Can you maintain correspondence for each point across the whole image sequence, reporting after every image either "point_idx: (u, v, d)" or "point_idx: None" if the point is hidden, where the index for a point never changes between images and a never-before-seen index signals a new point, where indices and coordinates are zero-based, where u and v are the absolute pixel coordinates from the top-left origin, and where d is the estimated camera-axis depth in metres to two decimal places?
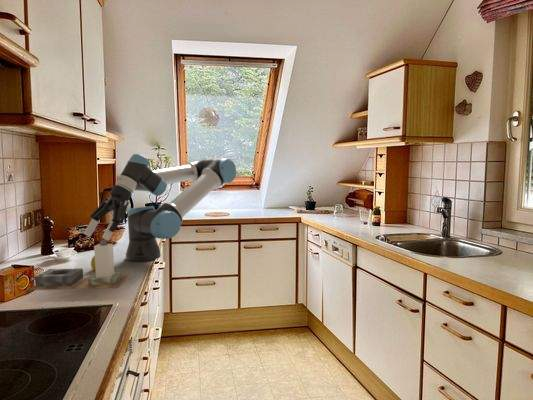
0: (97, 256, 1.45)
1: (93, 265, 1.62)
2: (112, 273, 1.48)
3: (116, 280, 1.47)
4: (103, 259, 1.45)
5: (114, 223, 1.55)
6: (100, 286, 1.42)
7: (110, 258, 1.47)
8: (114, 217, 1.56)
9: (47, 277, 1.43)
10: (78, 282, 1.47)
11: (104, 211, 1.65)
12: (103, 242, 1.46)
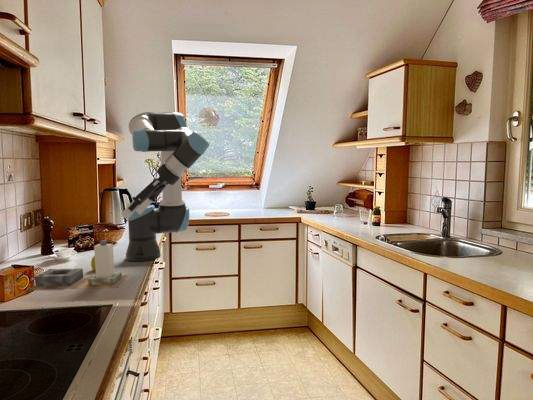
0: (97, 256, 1.45)
1: (93, 265, 1.62)
2: (112, 273, 1.48)
3: (116, 280, 1.47)
4: (103, 259, 1.45)
5: (151, 200, 1.54)
6: (100, 286, 1.42)
7: (110, 258, 1.47)
8: (155, 197, 1.52)
9: (47, 277, 1.43)
10: (78, 282, 1.47)
11: None
12: (103, 242, 1.46)
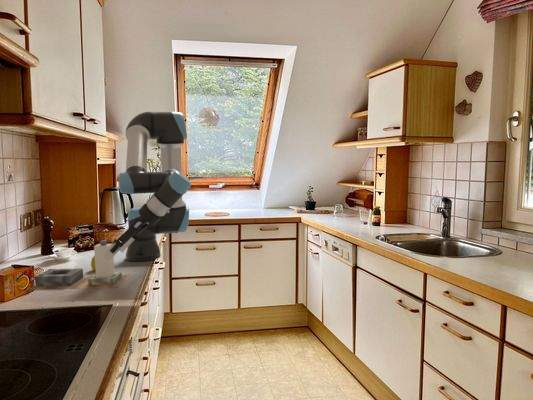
0: (97, 256, 1.45)
1: (93, 265, 1.62)
2: (112, 273, 1.48)
3: (116, 280, 1.47)
4: (103, 259, 1.45)
5: (133, 238, 1.54)
6: (100, 286, 1.42)
7: None
8: (137, 235, 1.52)
9: (47, 277, 1.43)
10: (78, 282, 1.47)
11: None
12: (103, 242, 1.46)
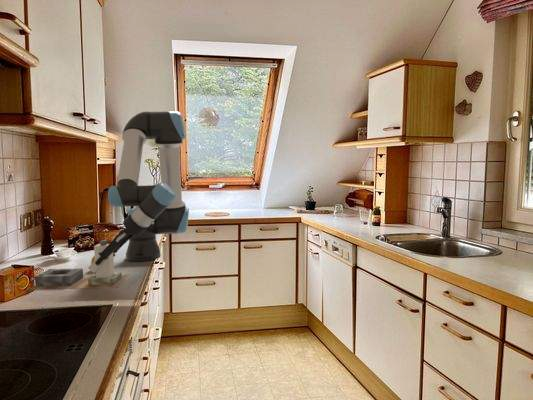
0: (97, 256, 1.45)
1: None
2: (112, 273, 1.48)
3: (116, 280, 1.47)
4: None
5: None
6: (100, 286, 1.42)
7: (110, 258, 1.47)
8: (116, 251, 1.50)
9: (47, 277, 1.43)
10: (78, 282, 1.47)
11: None
12: (103, 242, 1.46)
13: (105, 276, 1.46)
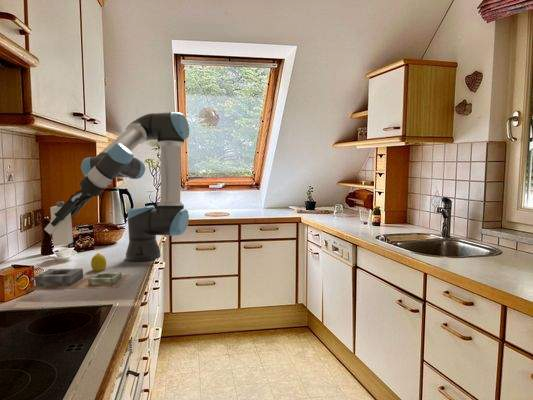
0: (53, 217, 1.43)
1: (93, 265, 1.62)
2: (70, 235, 1.46)
3: (116, 280, 1.47)
4: None
5: None
6: (100, 286, 1.42)
7: (67, 220, 1.45)
8: (74, 213, 1.48)
9: (47, 277, 1.43)
10: (78, 282, 1.47)
11: None
12: (60, 203, 1.44)
13: (62, 238, 1.44)
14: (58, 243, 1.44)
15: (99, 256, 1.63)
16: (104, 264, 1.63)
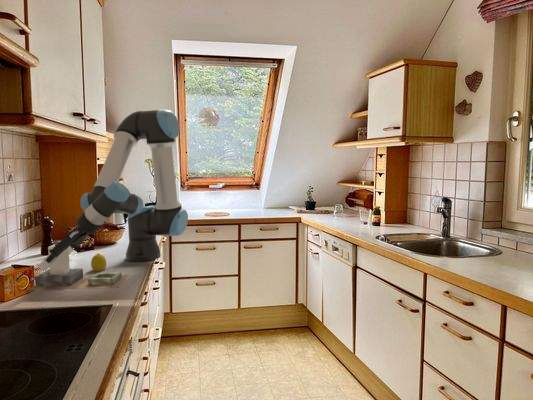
0: None
1: (93, 265, 1.62)
2: None
3: (116, 280, 1.47)
4: (58, 260, 1.46)
5: None
6: (100, 286, 1.42)
7: (65, 259, 1.47)
8: (77, 245, 1.53)
9: (47, 277, 1.43)
10: (78, 282, 1.47)
11: None
12: (57, 243, 1.46)
13: None
14: None
15: (99, 256, 1.63)
16: (104, 264, 1.63)
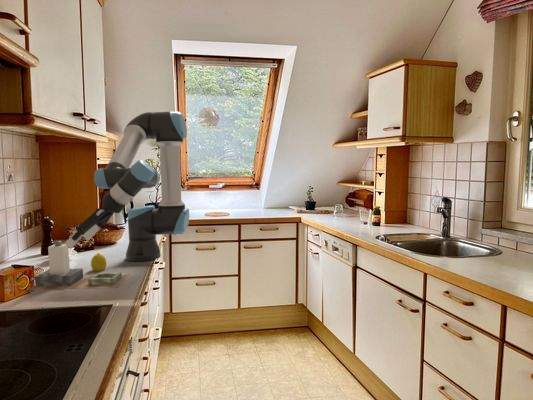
0: (51, 257, 1.45)
1: (93, 265, 1.62)
2: None
3: (116, 280, 1.47)
4: (58, 260, 1.46)
5: (100, 226, 1.55)
6: (100, 286, 1.42)
7: (65, 259, 1.47)
8: (103, 223, 1.53)
9: (47, 277, 1.43)
10: (78, 282, 1.47)
11: None
12: (57, 243, 1.46)
13: None
14: None
15: (99, 256, 1.63)
16: (104, 264, 1.63)
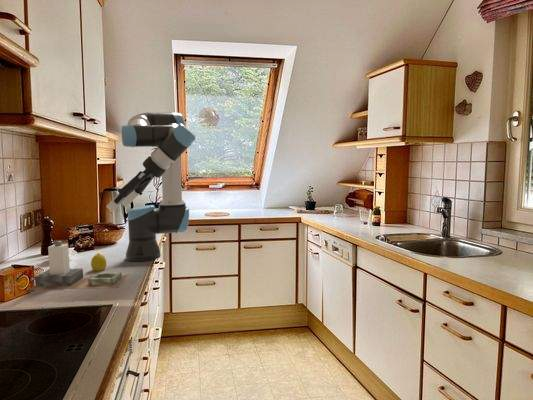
0: (51, 257, 1.45)
1: (93, 265, 1.62)
2: None
3: (116, 280, 1.47)
4: (58, 260, 1.46)
5: (137, 193, 1.54)
6: (100, 286, 1.42)
7: (65, 259, 1.47)
8: (141, 190, 1.52)
9: (47, 277, 1.43)
10: (78, 282, 1.47)
11: None
12: (57, 243, 1.46)
13: None
14: None
15: (99, 256, 1.63)
16: (104, 264, 1.63)
